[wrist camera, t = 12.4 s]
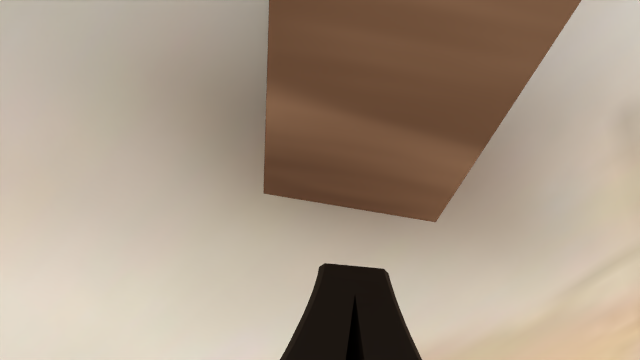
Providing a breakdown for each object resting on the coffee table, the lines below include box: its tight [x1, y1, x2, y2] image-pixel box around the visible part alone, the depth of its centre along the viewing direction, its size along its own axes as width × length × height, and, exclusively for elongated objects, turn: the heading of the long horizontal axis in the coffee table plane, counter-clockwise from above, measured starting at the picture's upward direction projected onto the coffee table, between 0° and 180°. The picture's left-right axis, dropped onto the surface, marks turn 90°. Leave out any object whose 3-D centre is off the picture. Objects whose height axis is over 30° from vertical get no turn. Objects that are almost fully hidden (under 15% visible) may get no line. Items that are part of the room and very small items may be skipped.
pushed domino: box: [264, 0, 581, 222], centre depth 12 cm, size 2×5×8 cm
